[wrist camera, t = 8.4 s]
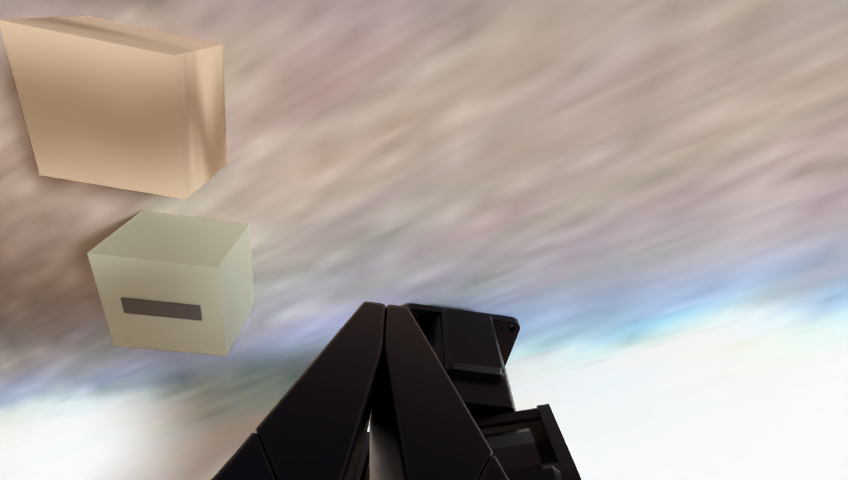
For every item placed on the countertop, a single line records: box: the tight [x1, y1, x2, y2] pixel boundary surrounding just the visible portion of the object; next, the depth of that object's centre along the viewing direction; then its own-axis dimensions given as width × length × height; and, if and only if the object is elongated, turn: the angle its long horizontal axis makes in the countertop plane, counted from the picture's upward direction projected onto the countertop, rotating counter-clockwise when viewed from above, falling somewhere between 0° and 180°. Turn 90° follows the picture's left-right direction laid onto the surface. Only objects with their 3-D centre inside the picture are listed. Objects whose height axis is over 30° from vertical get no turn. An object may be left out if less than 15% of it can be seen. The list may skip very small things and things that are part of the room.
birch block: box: [0, 16, 227, 199], centre depth 16 cm, size 5×5×4 cm
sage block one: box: [87, 211, 254, 356], centre depth 20 cm, size 5×5×4 cm
